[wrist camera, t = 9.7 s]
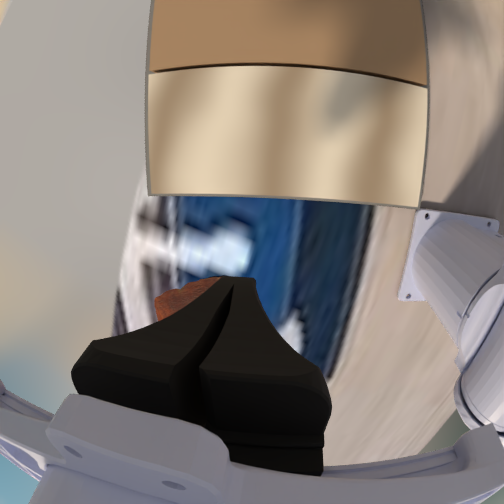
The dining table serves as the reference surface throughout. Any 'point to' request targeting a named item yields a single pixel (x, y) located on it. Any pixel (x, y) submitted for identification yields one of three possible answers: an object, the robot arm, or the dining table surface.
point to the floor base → (290, 44)
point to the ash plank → (286, 134)
